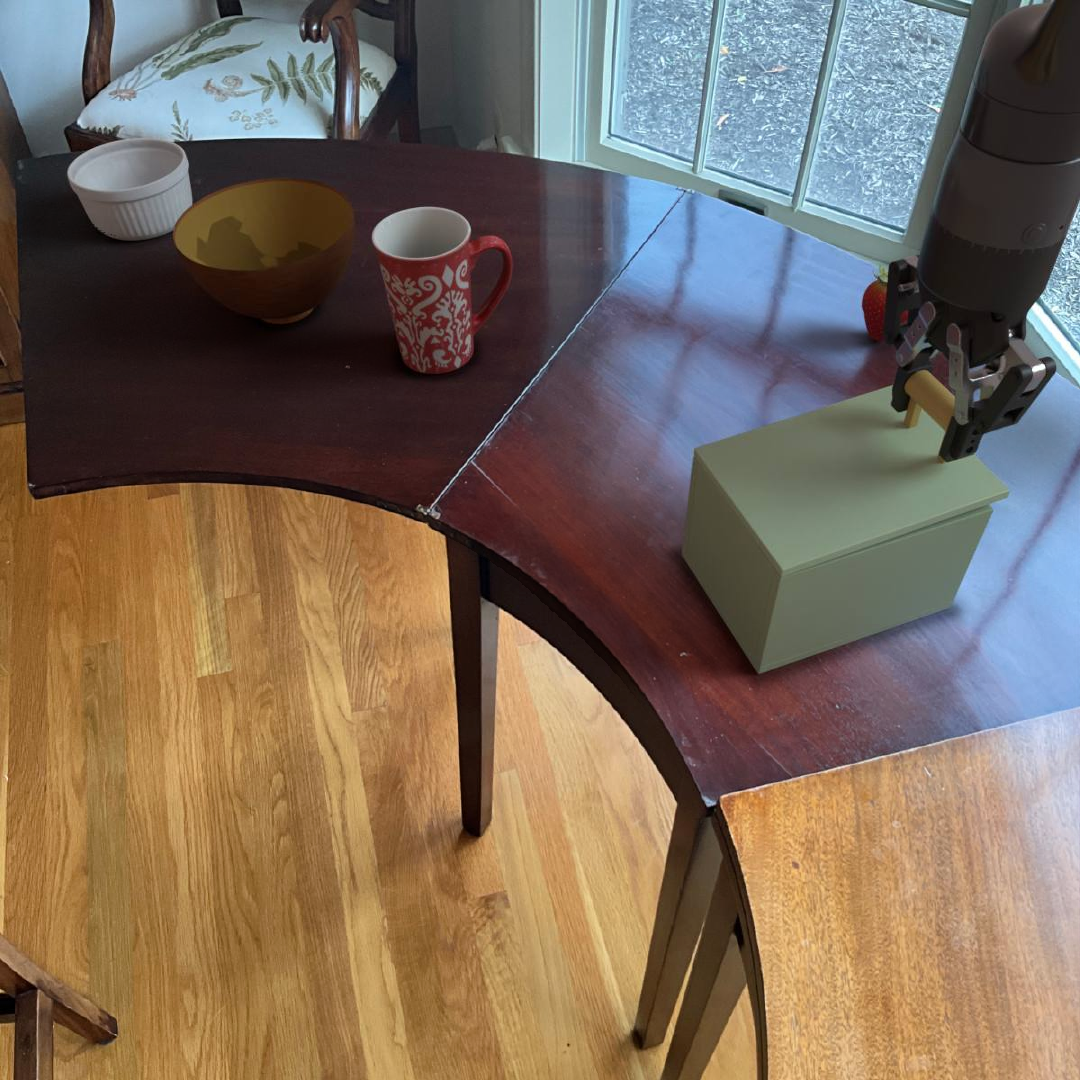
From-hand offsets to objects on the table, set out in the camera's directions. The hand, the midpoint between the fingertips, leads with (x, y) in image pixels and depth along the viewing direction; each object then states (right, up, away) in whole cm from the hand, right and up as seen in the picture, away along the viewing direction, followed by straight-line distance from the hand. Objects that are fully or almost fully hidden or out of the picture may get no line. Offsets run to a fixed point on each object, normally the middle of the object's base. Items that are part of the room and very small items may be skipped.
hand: (928, 430), depth 70 cm
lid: (-6, -3, 0) cm, 7 cm away
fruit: (+6, +12, +29) cm, 32 cm away
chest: (-6, -11, +8) cm, 15 cm away
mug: (-36, +11, +30) cm, 48 cm away
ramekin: (-75, +31, +49) cm, 94 cm away
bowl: (-54, +17, +36) cm, 67 cm away
